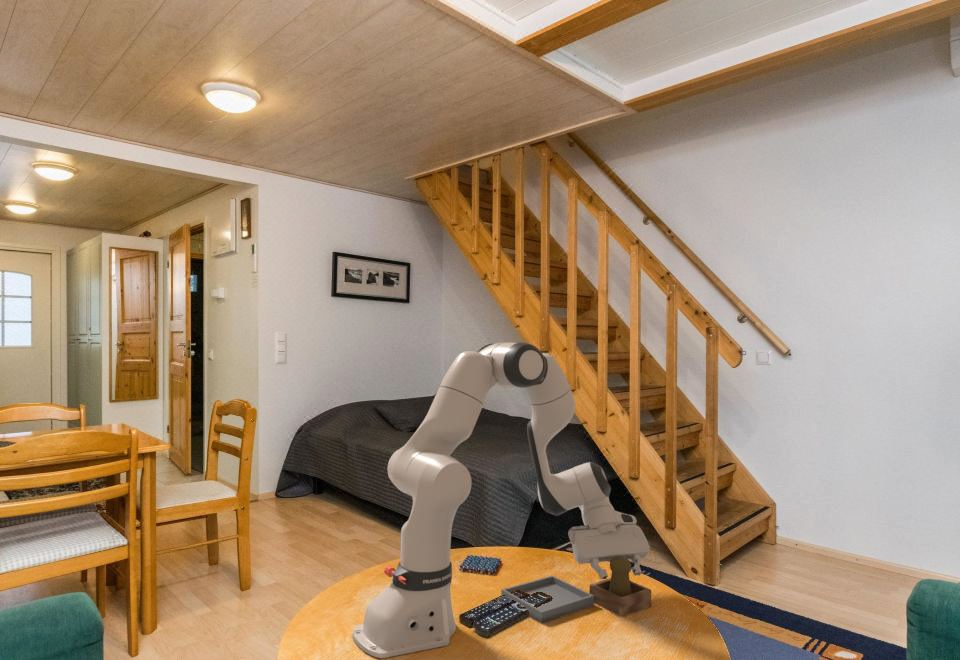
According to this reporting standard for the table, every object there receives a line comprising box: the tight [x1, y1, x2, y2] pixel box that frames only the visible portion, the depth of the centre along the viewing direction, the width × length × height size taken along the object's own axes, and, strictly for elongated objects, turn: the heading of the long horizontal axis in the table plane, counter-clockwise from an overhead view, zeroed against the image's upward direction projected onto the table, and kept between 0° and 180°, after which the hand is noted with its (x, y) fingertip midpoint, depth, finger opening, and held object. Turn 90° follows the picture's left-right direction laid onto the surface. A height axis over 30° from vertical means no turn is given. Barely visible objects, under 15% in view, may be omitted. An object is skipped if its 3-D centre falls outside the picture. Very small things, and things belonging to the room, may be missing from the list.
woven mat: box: [458, 554, 503, 576], centre depth 167 cm, size 10×11×2 cm
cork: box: [609, 557, 632, 597], centre depth 144 cm, size 6×6×11 cm
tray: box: [500, 575, 595, 624], centre depth 144 cm, size 17×15×2 cm
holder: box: [589, 577, 652, 618], centre depth 144 cm, size 10×10×4 cm
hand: (621, 576), depth 144 cm, fingers open, 8 cm apart
